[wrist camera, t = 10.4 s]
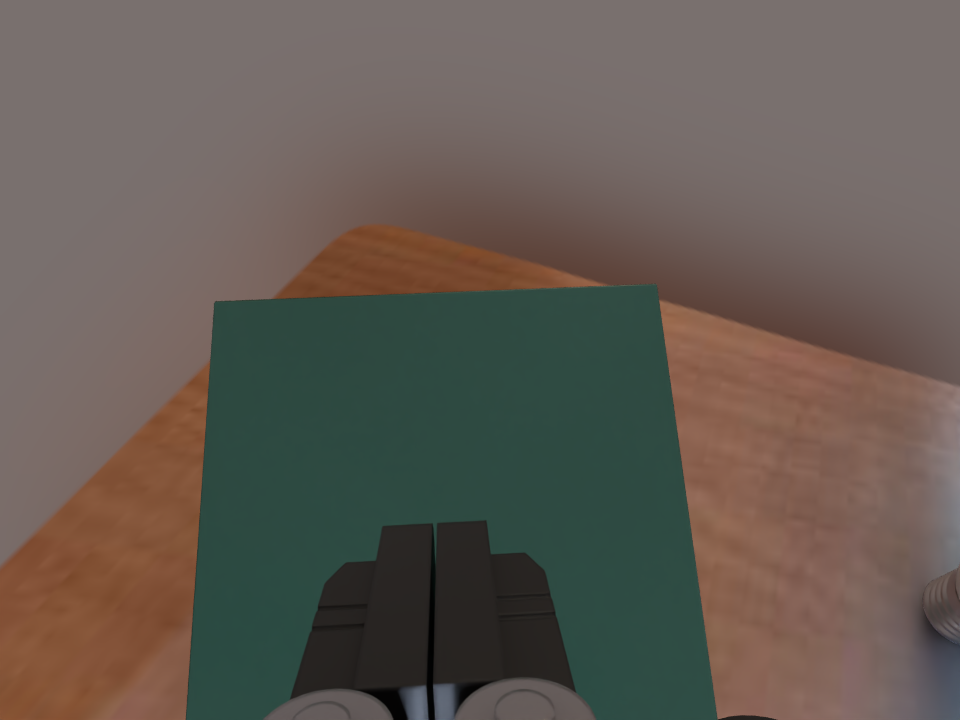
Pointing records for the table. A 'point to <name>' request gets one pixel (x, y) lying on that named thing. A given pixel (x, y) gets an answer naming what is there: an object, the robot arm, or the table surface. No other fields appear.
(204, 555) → the tin lid
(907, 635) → the table surface
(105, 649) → the table surface
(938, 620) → the lightbulb
